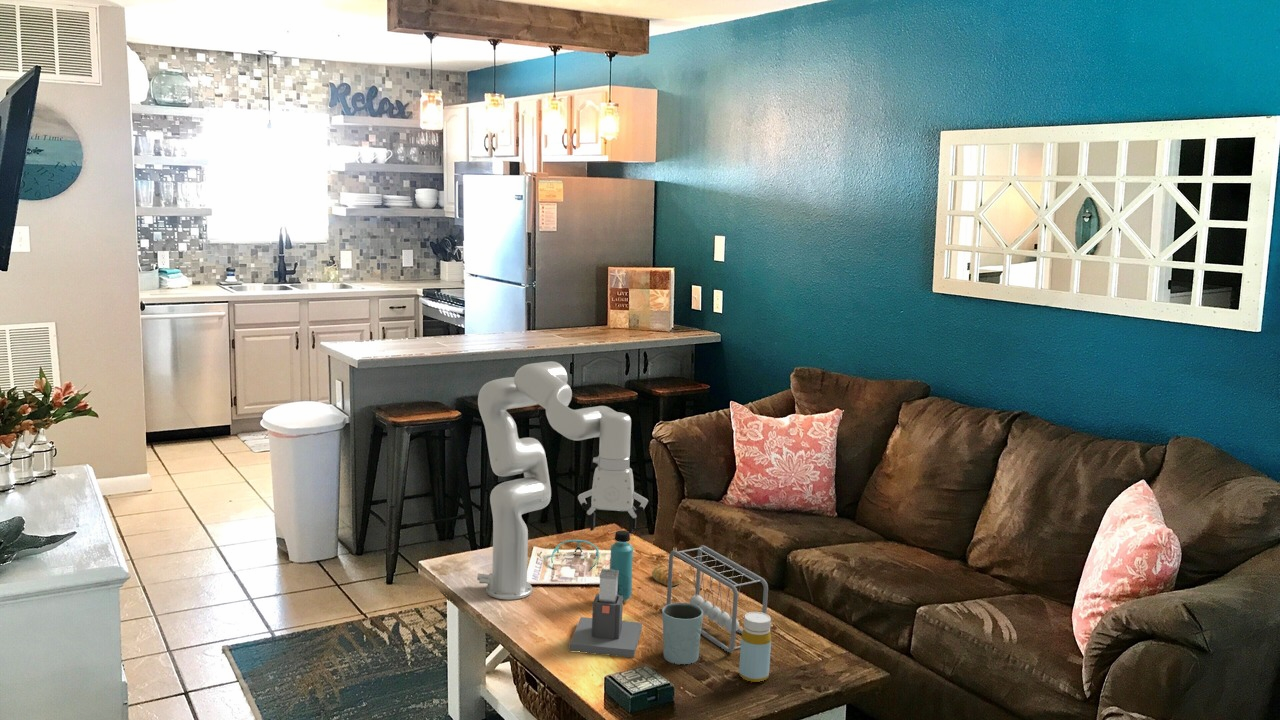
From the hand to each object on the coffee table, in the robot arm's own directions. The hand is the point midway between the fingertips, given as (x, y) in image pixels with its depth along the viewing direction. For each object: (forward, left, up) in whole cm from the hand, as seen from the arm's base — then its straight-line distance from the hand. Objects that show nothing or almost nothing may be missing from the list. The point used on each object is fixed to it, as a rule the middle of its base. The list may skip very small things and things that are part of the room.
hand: (611, 530), depth 259 cm
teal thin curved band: (-17, +51, -30) cm, 61 cm away
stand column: (0, 0, -26) cm, 26 cm away
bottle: (+37, -12, -29) cm, 49 cm away
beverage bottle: (0, +25, -29) cm, 39 cm away
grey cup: (+19, -5, -29) cm, 35 cm away
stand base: (0, 0, -29) cm, 29 cm away
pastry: (+11, +44, -30) cm, 54 cm away
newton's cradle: (+26, +13, -29) cm, 41 cm away
